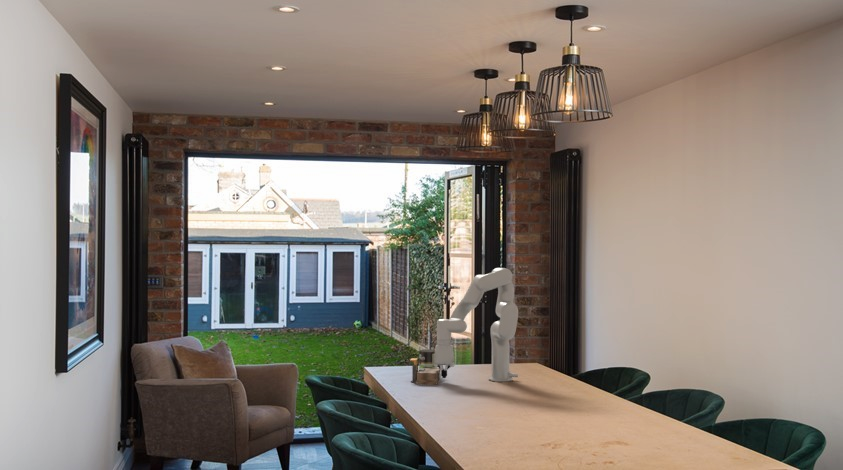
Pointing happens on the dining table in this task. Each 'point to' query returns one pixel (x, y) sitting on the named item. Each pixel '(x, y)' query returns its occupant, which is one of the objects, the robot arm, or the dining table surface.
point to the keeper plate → (414, 361)
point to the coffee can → (426, 358)
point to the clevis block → (425, 375)
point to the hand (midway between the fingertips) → (444, 377)
